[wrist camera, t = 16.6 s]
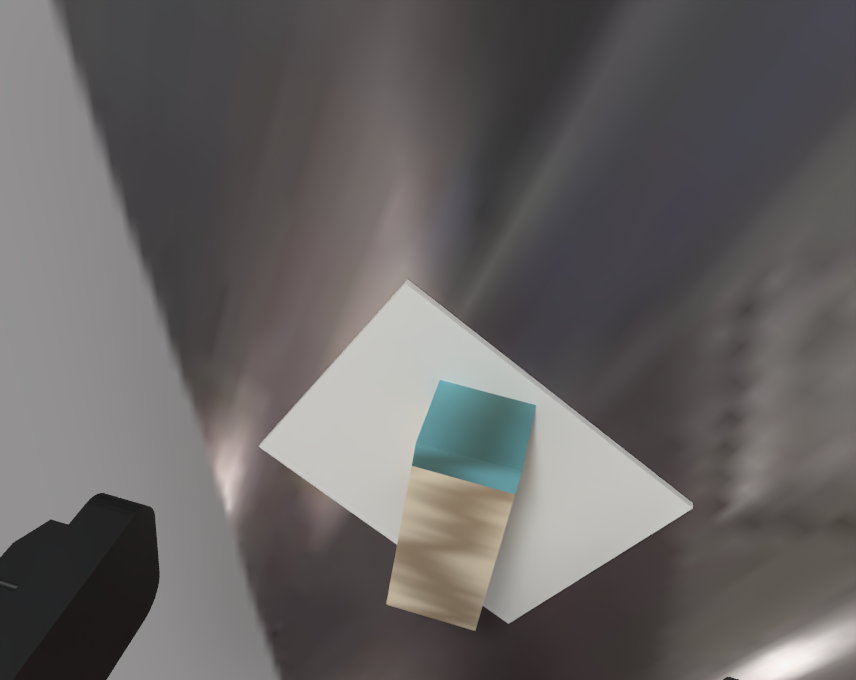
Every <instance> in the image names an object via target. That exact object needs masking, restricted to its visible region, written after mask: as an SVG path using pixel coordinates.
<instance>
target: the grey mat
mask: <svg viewBox="0 0 856 680" xmlns="http://www.w3.org/2000/svg"><path fill="white" fill-rule="evenodd" d="M440 380H443V381H446V382H450V383H454V384H458V385H461V386H465V387H469V388H473V389H477V390H480V391H484V392H488V393H492V394H496V395H499V396H503V397H507V398H511V399H515V400H518V401H522V402H526V403H530V404H533V405H536V406H535V411H534V416H533V421H532V426H531V431H530V435H529V440H528V445H527V450H526V455H525V460H524V465H523V469H522V473H521V477H520V480H519V484H518V487H517V490H516V494H515V497H514V501H513V504H512V507H511V511H510V514H509V518H508V521H507V524H506V528H505V531H504V535H503V538H502V541H501V545H500V548H499V552H498V555H497V558H496V562H495V565H494V569H493V572H492V575H491V579H490V582H489V586H488V589H487V593H486V596H485V599H484V603H483V606H484V607H485V608H487V609H488V610H490V611H491V612H492V613H494V614H495V615H497V616H498V617H499V618H501V619H502V620H504V621H505V622H506V623H508V624H509V623H510V622H512V621H514V620H515V619H517V618H518V617H520V616H522V615H523V614H525V613H526V612H528V611H530V610H531V609H533V608H534V607H536V606H538V605H539V604H541V603H542V602H544V601H546V600H547V599H549V598H550V597H552V596H554V595H555V594H557V593H558V592H560V591H562V590H563V589H565V588H566V587H568V586H570V585H571V584H573V583H574V582H576V581H578V580H579V579H581V578H582V577H584V576H586V575H587V574H589V573H590V572H592V571H594V570H595V569H597V568H598V567H600V566H602V565H603V564H605V563H606V562H608V561H610V560H611V559H613V558H614V557H616V556H618V555H619V554H621V553H622V552H624V551H626V550H627V549H629V548H630V547H632V546H634V545H635V544H637V543H638V542H640V541H642V540H643V539H645V538H646V537H648V536H650V535H651V534H653V533H654V532H656V531H658V530H659V529H661V528H662V527H664V526H666V525H667V524H669V523H670V522H672V521H674V520H675V519H677V518H678V517H680V516H682V515H683V514H685V513H686V512H688V511H690V510H691V509H693V503H692V502H691V501H689V500H688V499H687V498H686V497H684V496H683V495H682V494H681V493H679V492H678V491H677V490H675V489H674V488H673V487H672V486H670V485H669V484H668V483H667V482H665V481H664V480H663V479H661V478H660V477H659V476H658V475H656V474H655V473H654V472H652V471H651V470H650V469H649V468H647V467H646V466H645V465H644V464H642V463H641V462H640V461H638V460H637V459H636V458H635V457H633V456H632V455H631V454H630V453H628V452H627V451H626V450H624V449H623V448H622V447H621V446H619V445H618V444H617V443H616V442H614V441H613V440H612V439H610V438H609V437H608V436H607V435H605V434H604V433H603V432H602V431H600V430H599V429H598V428H596V427H595V426H594V425H593V424H591V423H590V422H589V421H588V420H586V419H585V418H584V417H582V416H581V415H580V414H579V413H577V412H576V411H575V410H573V409H572V408H571V407H570V406H568V405H567V404H566V403H565V402H563V401H562V400H561V399H559V398H558V397H557V396H556V395H554V394H553V393H552V392H551V391H549V390H548V389H547V388H545V387H544V386H543V385H542V384H540V383H539V382H538V381H537V380H535V379H534V378H533V377H531V376H530V375H529V374H528V373H526V372H525V371H524V370H523V369H521V368H520V367H519V366H517V365H516V364H515V363H514V362H512V361H511V360H510V359H509V358H507V357H506V356H505V355H503V354H502V353H501V352H500V351H498V350H497V349H496V348H495V347H493V346H492V345H491V344H489V343H488V342H487V341H486V340H484V339H483V338H482V337H480V336H479V335H478V334H477V333H475V332H474V331H473V330H472V329H470V328H469V327H468V326H466V325H465V324H464V323H463V322H461V321H460V320H459V319H458V318H456V317H455V316H454V315H452V314H451V313H450V312H449V311H447V310H446V309H445V308H444V307H442V306H441V305H440V304H438V303H437V302H436V301H435V300H433V299H432V298H431V297H430V296H428V295H427V294H426V293H424V292H423V291H422V290H421V289H419V288H418V287H417V286H416V285H414V284H413V283H412V282H410V281H409V280H408V279H407V280H406V281H405V283H404V284H403V285H402V286H401V287H400V288H399V289H398V290H397V291H396V293H395V294H394V295H393V296H392V297H391V298H390V299H389V300H388V301H387V303H386V304H385V305H384V306H383V307H382V308H381V309H380V310H379V312H378V313H377V314H376V315H375V316H374V317H373V318H372V319H371V320H370V322H369V323H368V324H367V325H366V326H365V327H364V328H363V329H362V331H361V332H360V333H359V334H358V335H357V336H356V337H355V338H354V339H353V341H352V342H351V343H350V344H349V345H348V346H347V347H346V348H345V350H344V351H343V352H342V353H341V354H340V355H339V356H338V357H337V358H336V360H335V361H334V362H333V363H332V364H331V365H330V366H329V367H328V369H327V370H326V371H325V372H324V373H323V374H322V375H321V376H320V377H319V379H318V380H317V381H316V382H315V383H314V384H313V385H312V386H311V387H310V389H309V390H308V391H307V392H306V393H305V394H304V395H303V396H302V398H301V399H300V400H299V401H298V402H297V403H296V404H295V405H294V406H293V408H292V409H291V410H290V411H289V412H288V413H287V414H286V415H285V417H284V418H283V419H282V420H281V421H280V422H279V423H278V424H277V425H276V427H275V428H274V429H273V430H272V431H271V432H270V433H269V434H268V436H267V437H266V438H265V439H264V440H263V441H262V442H261V444H260V445H259V447H260V448H261V449H263V450H264V451H266V452H267V453H268V454H270V455H271V456H273V457H274V458H276V459H277V460H278V461H280V462H281V463H283V464H284V465H285V466H287V467H288V468H290V469H291V470H292V471H294V472H295V473H297V474H298V475H299V476H301V477H302V478H304V479H305V480H307V481H308V482H309V483H311V484H312V485H314V486H315V487H316V488H318V489H319V490H321V491H322V492H323V493H325V494H326V495H328V496H329V497H330V498H332V499H333V500H335V501H336V502H337V503H339V504H340V505H342V506H343V507H345V508H346V509H347V510H349V511H350V512H352V513H353V514H354V515H356V516H357V517H359V518H360V519H361V520H363V521H364V522H366V523H367V524H368V525H370V526H371V527H373V528H374V529H376V530H377V531H378V532H380V533H381V534H383V535H384V536H385V537H387V538H388V539H390V540H391V541H392V542H394V543H395V544H397V543H398V538H399V532H400V527H401V521H402V516H403V511H404V505H405V500H406V494H407V489H408V483H409V478H410V472H411V467H412V462H413V456H414V451H415V445H416V441H417V438H418V436H419V433H420V431H421V428H422V425H423V423H424V420H425V418H426V415H427V412H428V410H429V407H430V404H431V402H432V399H433V397H434V394H435V391H436V389H437V386H438V384H439V381H440Z"/></svg>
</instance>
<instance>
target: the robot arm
mask: <svg viewBox="0 0 856 680" xmlns="http://www.w3.org/2000/svg"><path fill="white" fill-rule="evenodd" d="M158 584H159V561H158V549H157V537H156V524H155V514H154V511H153V509H152V508H151V507H149V506H146V505H142V504H139V503H135V502H132V501H128V500H125V499H122V498H118V497H115V496H111V495H108V494H104V493H100V494H97V495H95V496H93V497H92V498H91V499H90V500H89V501H88V502H87V503H86V504H85V505H84V507H83V508H82V509H81V510H80V512H79V513H78V514H77V515H76V516H75V518H74V519H73V520H72V521H71V522H70V524H69V525H68V524H64V523H61V522H57V521H54V520H49V521H48V522H46V523H45V524H43V525H41V526H40V527H38V528H37V529H35V530H33V531H32V532H30V533H28V534H27V535H25V536H24V537H22V538H20V539H19V540H17V541H15V542H14V543H13V544H12V545H11V546H10V547H9V548H8V549H7V551H6V552H5V553H4V554H3V555H2V556H1V557H0V680H106V679H107V678H108V676H109V675H110V673H111V672H112V670H113V669H114V667H115V665H116V664H117V662H118V660H119V659H120V657H121V656H122V654H123V653H124V651H125V650H126V648H127V647H128V645H129V643H130V642H131V640H132V639H133V637H134V636H135V634H136V632H137V631H138V629H139V628H140V626H141V624H142V623H143V621H144V620H145V618H146V616H147V615H148V613H149V611H150V609H151V606H152V604H153V601H154V599H155V596H156V592H157V589H158ZM723 680H738V679H734V678H731V677H726V678H725V679H723Z"/></svg>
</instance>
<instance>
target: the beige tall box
mask: <svg viewBox="0 0 856 680" xmlns="http://www.w3.org/2000/svg"><path fill="white" fill-rule="evenodd" d="M535 406H536V405H533V404H530V403H526V402H522V401H518V400H515V399H511V398H507V397H503V396H499V395H496V394H492V393H488V392H484V391H480V390H477V389H473V388H469V387H465V386H461V385H458V384H454V383H450V382H446V381H443V380H440V381H439V384H438V386H437V389H436V391H435V394H434V397H433V399H432V402H431V404H430V407H429V410H428V412H427V415H426V418H425V420H424V423H423V425H422V428H421V431H420V433H419V436H418V438H417V441H416V445H415V451H414V456H413V462H412V467H411V472H410V478H409V483H408V489H407V494H406V500H405V505H404V511H403V516H402V521H401V527H400V532H399V538H398V543H397V549H396V554H395V559H394V565H393V570H392V576H391V581H390V587H389V592H388V598H387V603H386V604H387V605H390V606H393V607H397V608H400V609H403V610H407V611H410V612H413V613H417V614H420V615H423V616H427V617H430V618H434V619H437V620H440V621H444V622H447V623H450V624H454V625H457V626H460V627H464V628H467V629H470V630H474V631H475V630H476V627H477V623H478V620H479V616H480V613H481V610H482V606H483V603H484V599H485V596H486V593H487V589H488V586H489V582H490V579H491V575H492V572H493V569H494V565H495V562H496V558H497V555H498V552H499V548H500V545H501V541H502V538H503V535H504V531H505V528H506V524H507V521H508V518H509V514H510V511H511V507H512V504H513V501H514V497H515V494H516V490H517V487H518V484H519V480H520V477H521V473H522V469H523V465H524V460H525V455H526V450H527V445H528V440H529V435H530V431H531V426H532V421H533V416H534V411H535Z"/></svg>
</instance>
